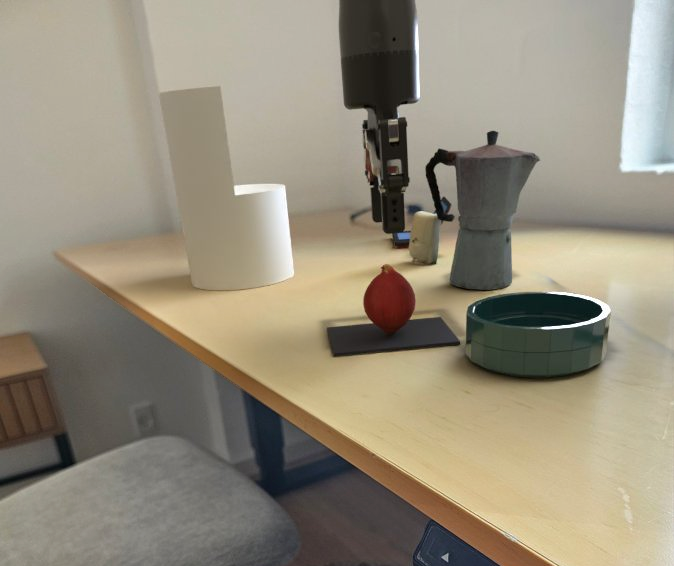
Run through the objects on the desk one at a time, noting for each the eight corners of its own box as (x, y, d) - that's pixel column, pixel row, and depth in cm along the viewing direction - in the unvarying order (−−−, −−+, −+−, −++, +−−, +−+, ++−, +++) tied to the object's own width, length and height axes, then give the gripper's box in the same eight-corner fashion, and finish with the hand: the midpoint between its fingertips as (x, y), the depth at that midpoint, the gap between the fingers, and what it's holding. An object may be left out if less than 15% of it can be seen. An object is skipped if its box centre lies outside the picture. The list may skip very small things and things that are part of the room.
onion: (382, 324, 79) (380, 256, 76) (425, 329, 76) (424, 259, 72) (356, 338, 75) (351, 267, 72) (399, 344, 72) (397, 270, 68)
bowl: (571, 332, 73) (576, 286, 70) (629, 373, 61) (636, 321, 59) (452, 343, 72) (453, 298, 70) (486, 387, 60) (488, 335, 58)
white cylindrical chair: (192, 295, 102) (156, 90, 89) (191, 273, 117) (160, 96, 104) (301, 282, 104) (282, 81, 92) (286, 262, 120) (268, 87, 107)
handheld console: (391, 237, 135) (390, 199, 131) (444, 234, 134) (444, 195, 131) (394, 249, 124) (393, 207, 120) (451, 245, 123) (452, 203, 120)
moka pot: (530, 292, 89) (540, 128, 80) (418, 291, 94) (415, 137, 84) (535, 276, 97) (544, 125, 88) (431, 276, 102) (430, 133, 92)
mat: (440, 319, 81) (440, 316, 80) (460, 344, 72) (460, 341, 71) (327, 330, 80) (327, 327, 80) (333, 356, 71) (333, 353, 71)
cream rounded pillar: (447, 259, 112) (447, 210, 108) (436, 266, 108) (436, 215, 104) (415, 258, 114) (414, 210, 111) (404, 265, 110) (403, 215, 107)
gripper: (433, 39, 57) (436, 233, 64) (405, 54, 69) (410, 215, 77) (347, 47, 56) (360, 241, 64) (334, 60, 69) (346, 221, 76)
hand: (387, 226), depth 70 cm, fingers open, 8 cm apart
